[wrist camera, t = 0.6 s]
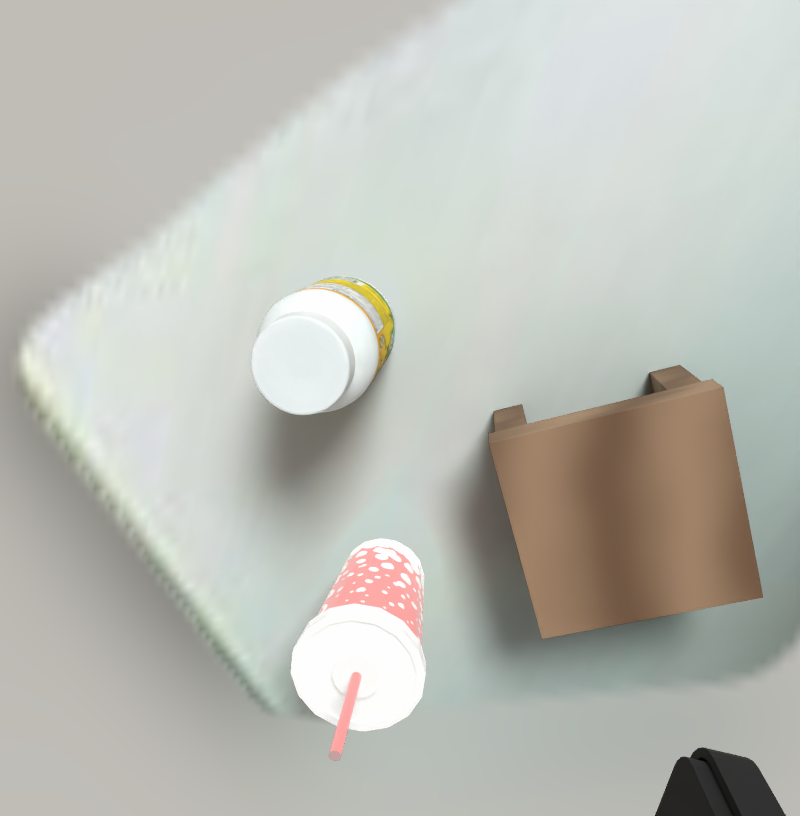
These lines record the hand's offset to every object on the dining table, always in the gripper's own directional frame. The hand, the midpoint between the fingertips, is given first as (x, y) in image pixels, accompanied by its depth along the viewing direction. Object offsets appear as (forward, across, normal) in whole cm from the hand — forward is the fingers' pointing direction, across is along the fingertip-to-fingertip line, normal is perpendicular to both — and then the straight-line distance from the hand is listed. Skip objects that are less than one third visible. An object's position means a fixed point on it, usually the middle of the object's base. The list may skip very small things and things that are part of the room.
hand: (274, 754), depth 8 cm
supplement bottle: (+30, +3, 0) cm, 30 cm away
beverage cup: (+30, -2, +13) cm, 33 cm away
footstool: (+29, -12, +4) cm, 31 cm away
